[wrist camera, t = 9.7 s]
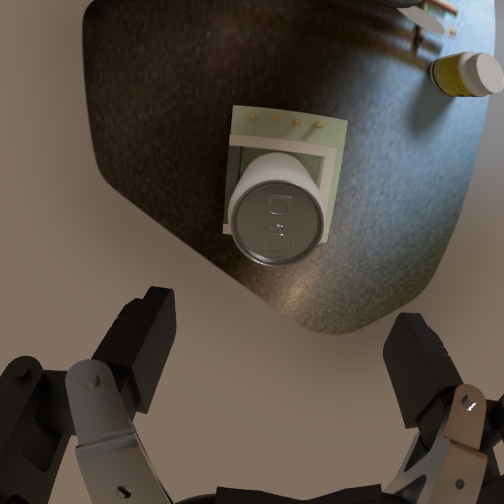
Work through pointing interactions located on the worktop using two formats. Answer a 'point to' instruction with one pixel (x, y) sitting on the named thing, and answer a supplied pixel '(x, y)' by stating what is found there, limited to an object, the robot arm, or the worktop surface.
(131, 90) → the worktop surface
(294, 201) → the can
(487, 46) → the worktop surface
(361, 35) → the worktop surface
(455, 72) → the supplement bottle
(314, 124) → the socket board
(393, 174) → the worktop surface
